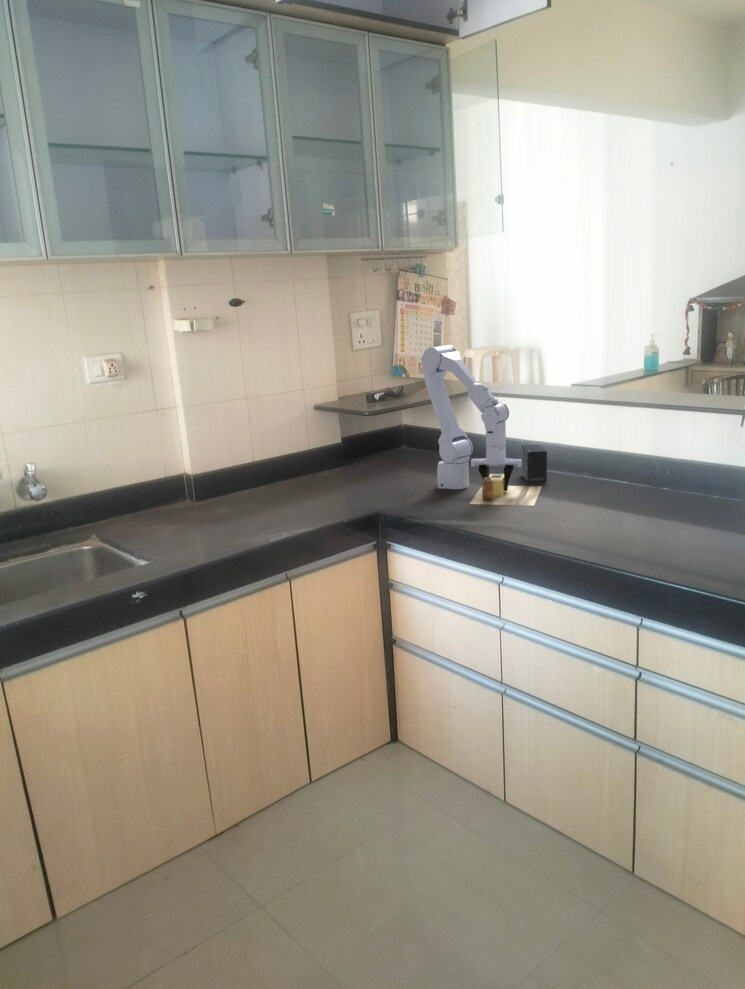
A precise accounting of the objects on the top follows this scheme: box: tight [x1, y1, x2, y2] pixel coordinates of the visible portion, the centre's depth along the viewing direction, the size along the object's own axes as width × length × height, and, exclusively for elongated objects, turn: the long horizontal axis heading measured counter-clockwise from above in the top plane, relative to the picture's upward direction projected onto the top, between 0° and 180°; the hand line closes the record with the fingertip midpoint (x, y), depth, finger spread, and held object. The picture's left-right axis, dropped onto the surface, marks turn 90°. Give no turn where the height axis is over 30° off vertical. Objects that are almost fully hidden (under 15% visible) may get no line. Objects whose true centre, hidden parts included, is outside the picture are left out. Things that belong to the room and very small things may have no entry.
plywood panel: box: [469, 485, 543, 507], centre depth 220 cm, size 18×21×1 cm
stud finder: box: [489, 473, 504, 496], centre depth 223 cm, size 4×8×5 cm, turn 162°
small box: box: [521, 444, 548, 483], centre depth 237 cm, size 11×6×10 cm, turn 179°
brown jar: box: [481, 477, 493, 501], centre depth 215 cm, size 3×3×6 cm
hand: (496, 490), depth 223 cm, fingers open, 5 cm apart
